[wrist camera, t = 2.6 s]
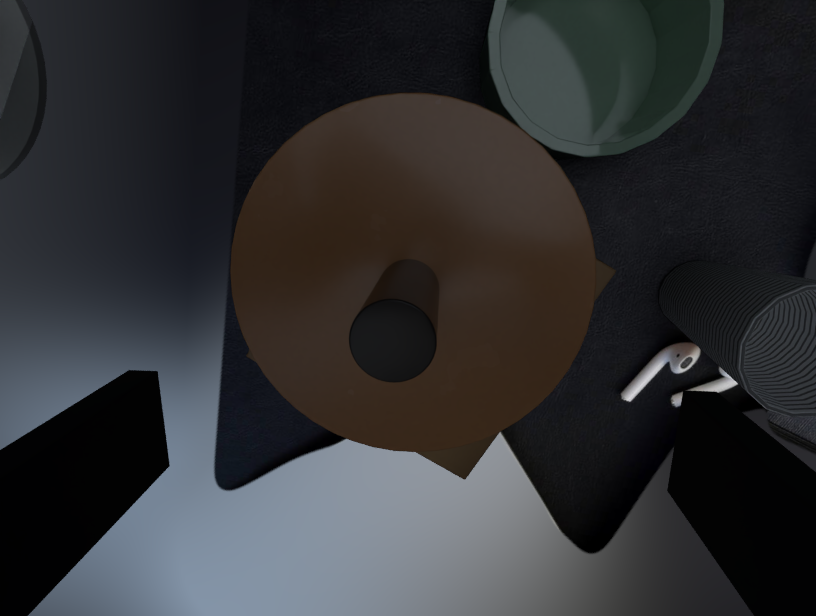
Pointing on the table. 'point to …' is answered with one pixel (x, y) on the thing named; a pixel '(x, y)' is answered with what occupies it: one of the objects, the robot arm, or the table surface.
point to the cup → (750, 328)
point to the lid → (413, 272)
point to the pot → (597, 69)
